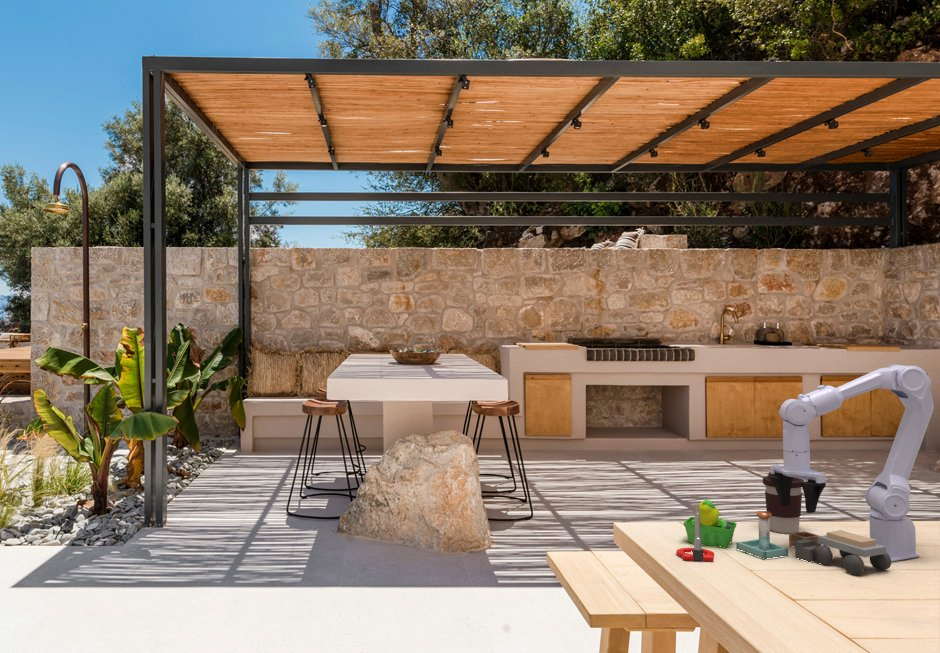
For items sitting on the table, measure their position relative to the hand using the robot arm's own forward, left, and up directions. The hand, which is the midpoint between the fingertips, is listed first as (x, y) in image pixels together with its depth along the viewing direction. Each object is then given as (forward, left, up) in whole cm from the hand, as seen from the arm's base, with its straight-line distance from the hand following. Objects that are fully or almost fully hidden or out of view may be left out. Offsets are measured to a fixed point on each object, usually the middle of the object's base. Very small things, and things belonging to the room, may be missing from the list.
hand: (797, 509), depth 176 cm
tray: (+8, -3, -10) cm, 13 cm away
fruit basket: (+13, -15, -11) cm, 23 cm away
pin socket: (-5, -3, -10) cm, 12 cm away
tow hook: (+23, -8, -11) cm, 27 cm away
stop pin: (+7, -4, -10) cm, 12 cm away
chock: (+2, +5, -10) cm, 11 cm away
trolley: (-2, +13, -10) cm, 16 cm away
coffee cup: (-13, -17, -10) cm, 24 cm away
